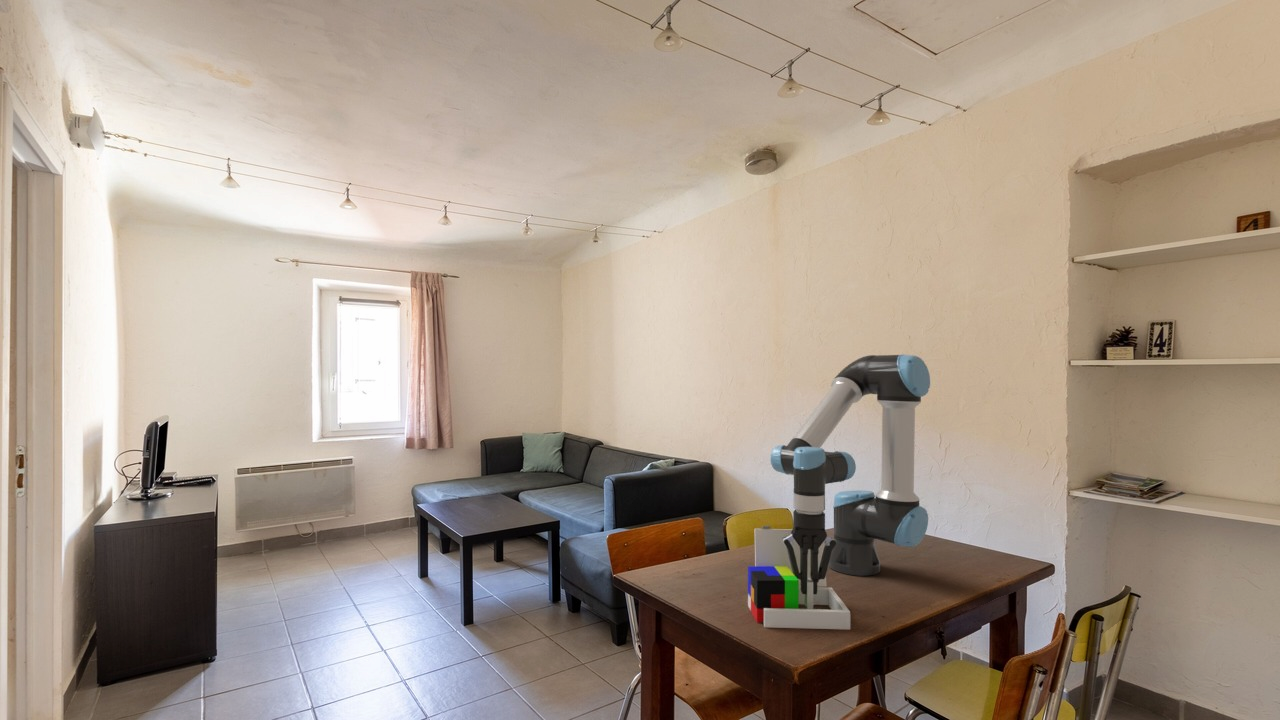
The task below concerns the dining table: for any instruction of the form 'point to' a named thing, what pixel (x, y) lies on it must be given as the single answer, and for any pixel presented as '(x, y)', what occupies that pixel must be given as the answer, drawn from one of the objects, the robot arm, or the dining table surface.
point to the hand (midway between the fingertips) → (808, 606)
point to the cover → (780, 550)
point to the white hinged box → (811, 613)
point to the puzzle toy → (771, 589)
